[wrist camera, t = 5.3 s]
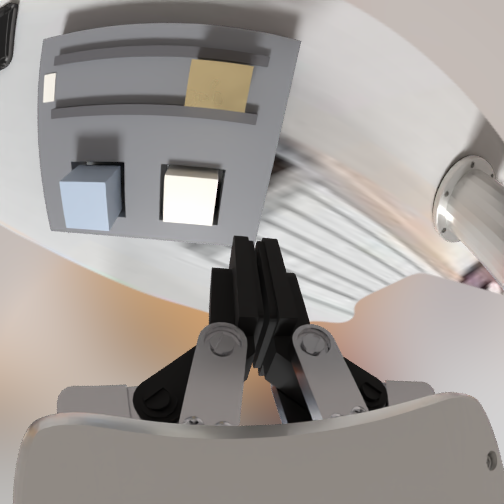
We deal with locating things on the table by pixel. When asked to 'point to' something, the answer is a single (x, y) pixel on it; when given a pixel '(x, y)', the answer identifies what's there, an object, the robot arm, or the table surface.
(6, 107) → the table surface
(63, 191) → the blue button
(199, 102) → the slider knob
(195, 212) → the cream button
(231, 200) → the panel
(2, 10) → the phone
